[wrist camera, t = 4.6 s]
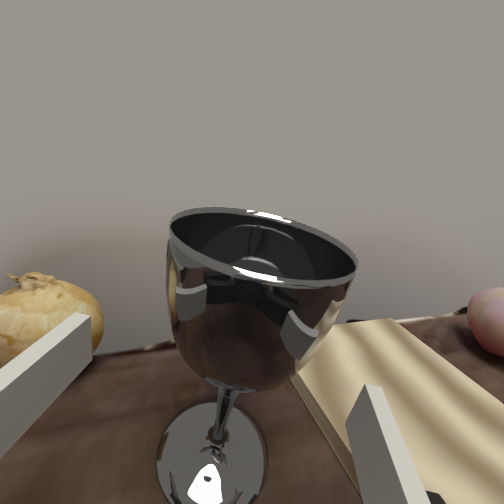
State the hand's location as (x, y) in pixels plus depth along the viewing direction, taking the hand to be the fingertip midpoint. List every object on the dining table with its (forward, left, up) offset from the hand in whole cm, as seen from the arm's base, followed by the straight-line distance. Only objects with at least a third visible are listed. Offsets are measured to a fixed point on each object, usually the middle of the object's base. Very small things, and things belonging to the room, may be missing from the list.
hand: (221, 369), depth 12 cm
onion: (+10, -11, -9) cm, 17 cm away
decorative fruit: (-39, -2, -9) cm, 40 cm away
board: (-18, 0, -8) cm, 20 cm away
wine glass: (-1, -1, -9) cm, 9 cm away
